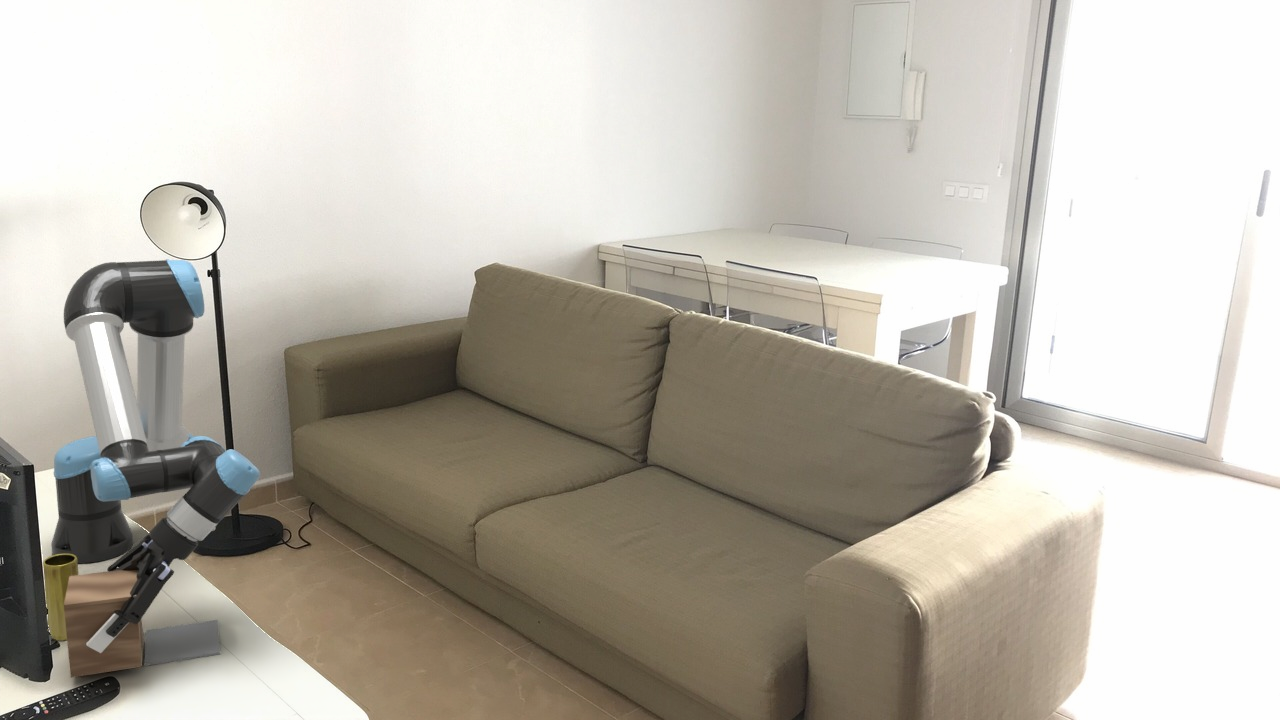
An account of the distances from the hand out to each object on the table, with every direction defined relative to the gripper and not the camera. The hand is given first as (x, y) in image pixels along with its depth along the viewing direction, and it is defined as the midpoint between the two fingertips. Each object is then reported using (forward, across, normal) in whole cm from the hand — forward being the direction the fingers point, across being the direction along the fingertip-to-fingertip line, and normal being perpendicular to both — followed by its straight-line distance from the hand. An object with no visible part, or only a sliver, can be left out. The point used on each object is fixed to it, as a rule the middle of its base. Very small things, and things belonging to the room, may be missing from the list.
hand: (88, 630), depth 170 cm
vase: (+7, +15, -4) cm, 17 cm away
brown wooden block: (+2, 0, -6) cm, 6 cm away
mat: (-5, +2, -16) cm, 16 cm away
